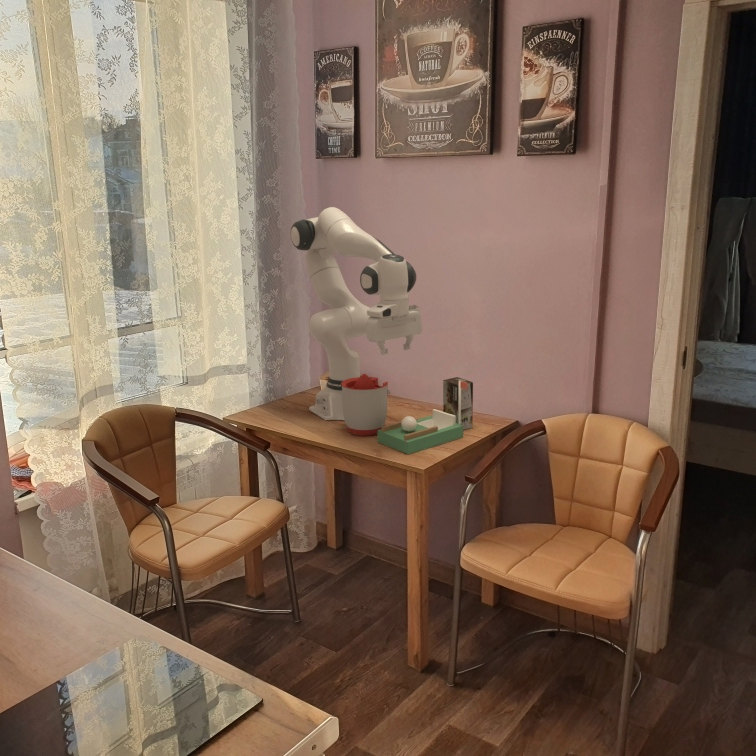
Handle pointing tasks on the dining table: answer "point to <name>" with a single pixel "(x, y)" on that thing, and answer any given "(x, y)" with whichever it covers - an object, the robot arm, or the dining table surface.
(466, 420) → the coffee box
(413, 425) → the ball
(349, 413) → the citrus juicer
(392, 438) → the mini golf course
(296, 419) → the dining table surface
